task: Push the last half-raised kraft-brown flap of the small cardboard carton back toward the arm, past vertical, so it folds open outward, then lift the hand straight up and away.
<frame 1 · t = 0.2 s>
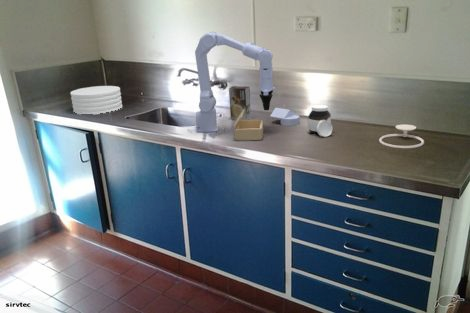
hand: (266, 108, 197), 10 cm above the worktop, tool pointing down, fingers open, 7 cm apart
hand towel holder: (402, 141, 176), on the worktop
lid flap: (239, 118, 191), point 8 cm above the worktop, hinge at 55.0°
spread jar: (321, 134, 191), on the worktop
wedge on round base: (286, 123, 210), on the worktop
coffee box: (240, 119, 222), on the worktop
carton: (249, 135, 193), on the worktop
plate stack: (98, 109, 260), on the worktop
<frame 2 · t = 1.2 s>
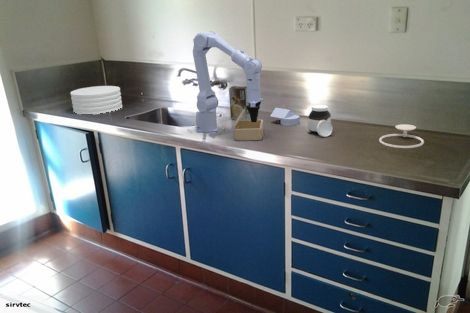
hand: (254, 119, 191), 7 cm above the worktop, tool pointing down, fingers open, 7 cm apart
nothing on the worktop moved.
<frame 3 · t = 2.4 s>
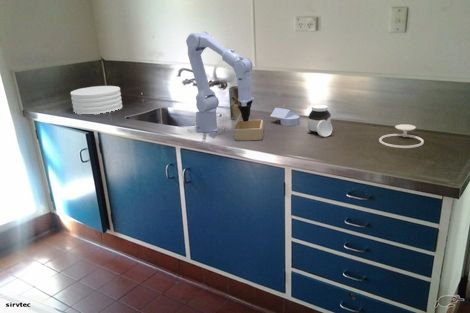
hand: (246, 119, 191), 7 cm above the worktop, tool pointing down
lid flap: (238, 118, 191), point 8 cm above the worktop, hinge at 57.0°, touching gripper
everything else where it was.
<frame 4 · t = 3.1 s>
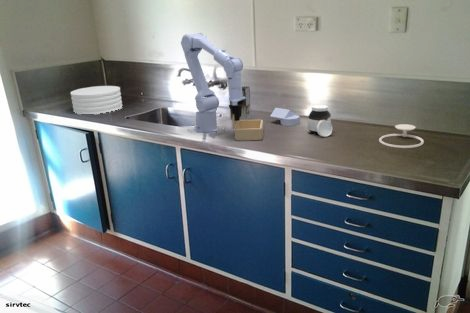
hand: (237, 118, 191), 8 cm above the worktop, tool pointing down
lid flap: (235, 117, 191), point 8 cm above the worktop, hinge at 89.0°, touching gripper
everything else where it was.
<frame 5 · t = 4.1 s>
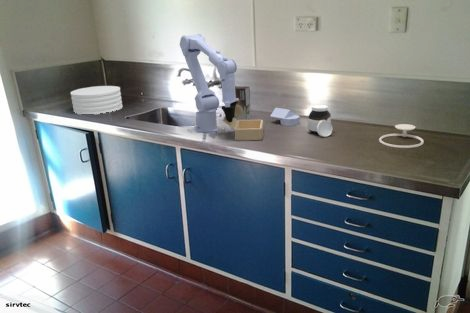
hand: (230, 119, 191), 7 cm above the worktop, tool pointing down
lid flap: (230, 120, 192), point 7 cm above the worktop, hinge at 136.1°, touching gripper
everything else where it was.
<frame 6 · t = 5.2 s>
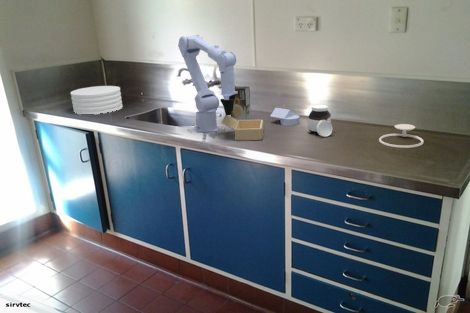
hand: (229, 112, 191), 10 cm above the worktop, tool pointing down, fingers open, 7 cm apart
lid flap: (229, 121, 192), point 6 cm above the worktop, hinge at 148.7°
everything else where it was.
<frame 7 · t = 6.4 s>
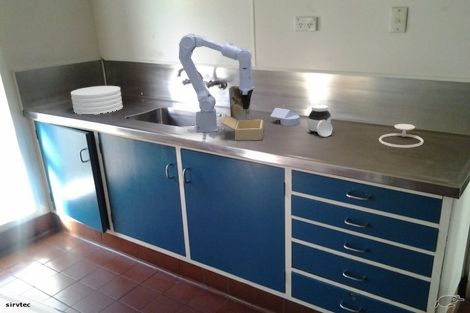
hand: (246, 107, 199), 10 cm above the worktop, tool pointing down, fingers open, 7 cm apart
lid flap: (229, 121, 192), point 6 cm above the worktop, hinge at 151.0°
everything else where it was.
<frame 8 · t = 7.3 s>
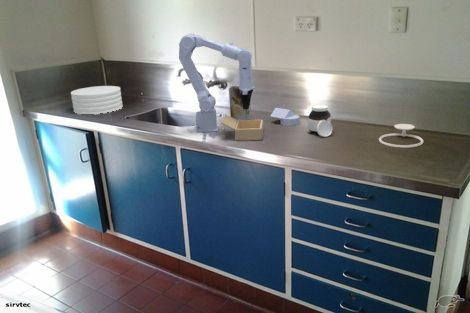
hand: (246, 107, 199), 10 cm above the worktop, tool pointing down, fingers open, 7 cm apart
lid flap: (229, 121, 192), point 6 cm above the worktop, hinge at 151.3°
everything else where it was.
at the end: lid flap at +151° (first picture: +55°); wedge on round base moved 0.3 cm from its start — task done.
